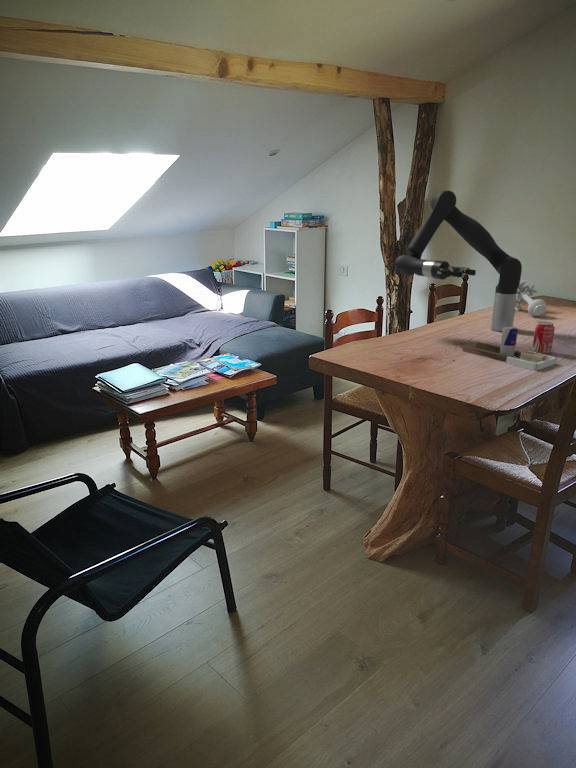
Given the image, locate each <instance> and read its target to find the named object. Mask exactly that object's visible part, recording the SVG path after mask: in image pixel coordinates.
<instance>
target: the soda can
mask: <svg viewBox="0 0 576 768" xmlns="http://www.w3.org/2000/svg"><path fill="white" fill-rule="evenodd" d="M533 334H534V335H533V340H532V352H534V351H535V352H536V353H542V354H544V355H546V354H545V353H547V354H549V353H551V352H552V347H553V343H554V342H553V341H554V335H555V326H554V322H551V321H543V320H542V321H538V322H537V324H536V326H535V329H534V333H533Z"/></svg>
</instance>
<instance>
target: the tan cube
mask: <svg viewBox="0 0 576 768" xmlns="http://www.w3.org/2000/svg"><path fill="white" fill-rule="evenodd" d="M529 351H530V350H524V351H521V356H520V357H519V359H521V360H525V361H529V362H531V355H533V354H535V353H534V351H531V352H529Z"/></svg>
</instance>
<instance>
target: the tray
mask: <svg viewBox="0 0 576 768" xmlns="http://www.w3.org/2000/svg"><path fill="white" fill-rule="evenodd" d="M528 351H529V352H532V351H530V350H528ZM533 352H534V351H533ZM534 353H535V352H534ZM546 355H547V354H546ZM557 361H558V357H557V356H556V357H555V356H551V355H547V360H544V361H541V362H538V363H533V362H529V361H525V360H521V359H520V358H517V357H514V358H513V357H509V356H508V357H507V359H506V361H505V363H506V364H507V363H509V364H508V365H511V364H513V365H512V366H515V365H517V366H516V367H519V366H520V368H522V367H524V369H526V368H527V369H526V370H530V369H531V370H530V371H534V370H535V372H537V371H539V370H543V369H545V368H548V367H549V368H550V367H552V366H554V365H556V364H557Z"/></svg>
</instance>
